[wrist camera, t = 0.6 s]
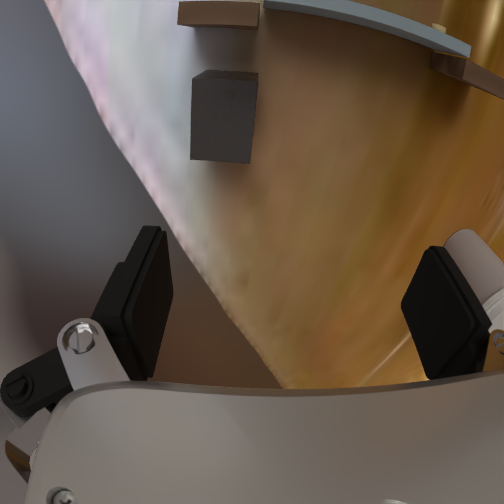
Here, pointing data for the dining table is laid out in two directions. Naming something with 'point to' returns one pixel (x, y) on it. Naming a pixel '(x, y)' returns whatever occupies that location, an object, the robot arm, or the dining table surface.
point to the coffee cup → (480, 272)
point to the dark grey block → (223, 115)
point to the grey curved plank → (376, 22)
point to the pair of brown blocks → (247, 18)
